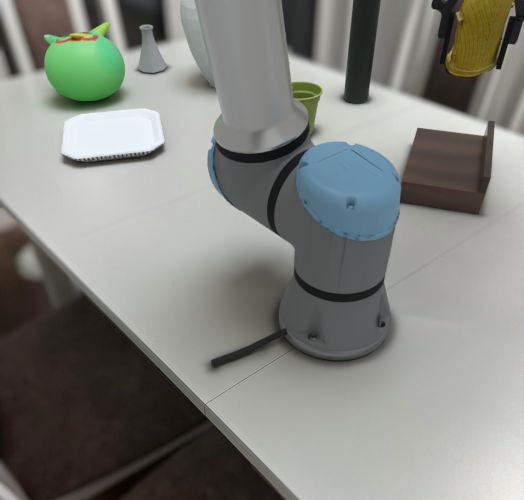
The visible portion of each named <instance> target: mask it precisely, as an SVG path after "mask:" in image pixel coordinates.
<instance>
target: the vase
mask: <svg viewBox="0 0 524 500" xmlns="http://www.w3.org/2000/svg"><path fill="white" fill-rule="evenodd" d="M179 8H180V9H179V14H180V22H181V25H182V29H183V32H184V36H185V39H186V41H187V45H188V48H189V51H190V53H191V56H192V57H193V59H194V61H195V64H196V66H197V67H198V69H199V71H200V73H201V74H202V76H203V77H204V78H205V79H206V81H208V83H209V85H210V86H212V87H214V88H215V84H214V80H213V76H212V72H211V68H210V63H209V59H208V55H207V51H206V47H205V43H204V39H203V34H202V30H201V26H200V22H199V18H198V14H197V10H196V5H195V1H194V0H180V3H179Z"/></svg>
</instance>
